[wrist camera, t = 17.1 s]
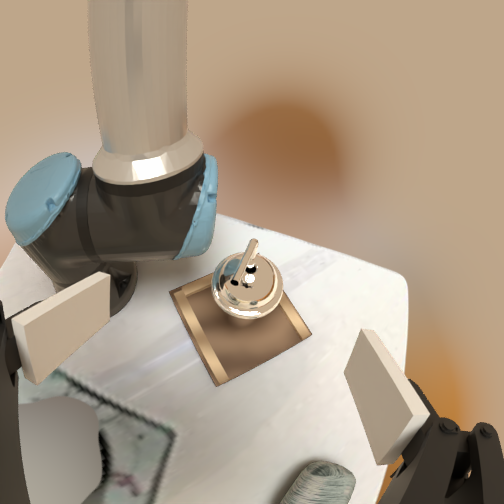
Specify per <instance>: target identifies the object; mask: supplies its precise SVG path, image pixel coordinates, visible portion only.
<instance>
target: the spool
mask: <svg viewBox="0 0 504 504" xmlns="http://www.w3.org/2000/svg"><path fill="white" fill-rule="evenodd" d="M355 484H356V479H355V477H354V475H353V474H352V472H350V471H349V470H348V469H346V468H344V467H343V466H340V465H337V464H334V463H330V462H324V461H320V462H314V463H311V464H309V465H308V466H307V467H306V468H305V469H304V470H303V471H302V472H301V473H300V475H299V476H298V478H297V479H296V480H295V482H294V483H293V485H292V486H291V487H290V489H289V490H288V492H287V493H286V495H285V496H284V498H283V499H282V501H281V502H280V504H348V502H349V500H350V498H351V495H352V493H353V490H354V487H355Z"/></svg>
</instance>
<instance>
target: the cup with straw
mask: <svg viewBox="0 0 504 504" xmlns="http://www.w3.org/2000/svg"><path fill="white" fill-rule="evenodd" d="M257 248H258V240H257V239H251V240H250V242H249V244H248V246H247V248H246V250H245V252H242V253H236V254H233V255H230V256H229V257H227V258H225V259H224V260H223V261H222V262H220V263H219V265H218V266H217V267H216V269H215V271H214V274H213V276H212V280H211V290H212V295H213V297H214V299H215V301H216V302H217V304H218V305H219V307H221V308H222V309H223V310H224V311H225V312H226V316H227V319H228V321H229V322H230V323H231V324H232V325H233V326H235V327H237V328H247V327H249V326H251V325H252V324H253V323H254V322H255V321H256V320H257V318H259V317H262V316H265V315H267V314H268V313H270V312H271V311H273V310H274V309H275V307H276V306H277V305H278V303H279V302H280V300H281V297H282V294H283V280H282V276H281V274H280V272H279V270H278V268H277V267H276V266H275V265H274V263H273V262H271V261H270V260H269V259H267V258H266V257H264V256H262V255H260V254H257V253H256V252H257Z"/></svg>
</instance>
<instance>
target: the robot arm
mask: <svg viewBox="0 0 504 504" xmlns="http://www.w3.org/2000/svg"><path fill="white" fill-rule="evenodd" d="M187 11H188V0H88V36H89V51H90V63H91V74H92V83H93V90H94V98H95V105H96V111H97V118H98V124H99V129H100V134H101V139H102V147H101V149H100V150H99V152H98V153H97V155H96V156H95V158H94V160H93V164H92V167H88V168H82V167H81V163H80V160H78V159H77V158H76V157H75V156H74V155H72V154H71V153H68V152H63V153H57V154H54V155H51V156H49V157H47V158H45V159H43V160H42V161H40V162H39V163H37V164H36V165H35V166H33V167H32V168H31V169H30V170H29V171H28V172H27V173H26V174H25V175H24V176H23V177H22V178H21V179H20V180H19V182H18V183H17V184H16V186H15V188H14V189H13V191H12V193H11V195H10V197H9V199H8V202H7V205H6V210H5V220H6V224H7V226H8V229H9V230H10V231H11V233H12V234H13V236H14V238H15V240H16V243H17V244H18V245H20V246H21V247H22V248H23V249H24V251H25V252H26V253H27V254H28V255H29V256H30V257H31V258H32V260H33V261H34V262H35V263H36V264H37V265H38V266H39V267H40V268H41V269H42V270H43V271H44V273H45V274H46V275H47V276H48V277H49V278H50V279H51V280H52V281H53V284H54V287H55V290H56V293H57V294H55V295H53V296H51V297H49V298H47V299H46V300H43V301H39V302H36V303H34V304H32V305H30V306H29V307H27V308H25V309H23V310H21V311H20V312H18V313H16V314H14V315H12V316H11V317H9V318H7V319H6V320H5V317H4V311H3V305H2V302H1V300H0V504H30V500H29V495H28V491H27V486H26V481H25V475H24V469H23V463H22V456H21V446H20V436H19V420H18V379H19V377H18V373H17V370H18V369H19V368H20V367H22V369H23V373H24V376H25V378H26V379H28V380H29V381H31V382H32V383H34V384H36V385H37V386H38V385H39V384H40V383H41V382H42V381H43V380H44V379H45V378H46V377H47V376H48V375H49V374H51V373H52V372H53V371H54V370H55V369H56V368H57V367H58V366H59V365H60V364H62V363H63V362H64V361H65V360H66V359H67V358H68V357H69V356H70V355H71V354H73V353H74V352H75V351H76V350H77V349H78V348H79V347H80V346H82V345H83V344H84V343H85V342H86V341H87V340H88V339H90V338H91V337H92V336H93V335H94V334H95V333H96V332H98V331H99V330H100V329H101V328H102V327H103V326H104V325H106V324H107V323H108V322H109V321H110V317H111V316H113V315H115V314H116V313H117V312H119V311H120V310H121V309H122V308H123V307H124V306H125V305H126V304H127V302H128V301H129V300H130V298H131V296H132V294H133V292H134V290H135V287H136V282H137V267H136V264H135V261H153V260H177V259H179V258H185V257H192V256H199V255H201V254H203V253H205V252H206V251H207V250H208V248H209V247H210V244H211V242H212V238H213V233H214V226H215V218H216V205H217V204H216V197H217V187H218V167H217V161H216V158H215V157H213V156H211V155H208V154H203V143H202V141H201V139H200V138H199V137H198V136H196V135H195V134H194V133H193V132H191V131H190V130H189V129H188V126H187V88H186V86H187V85H186V49H187V46H186V45H187ZM344 375H345V377H346V380H347V382H348V385H349V388H350V390H351V393H352V396H353V399H354V401H355V404H356V407H357V409H358V412H359V415H360V418H361V421H362V423H363V426H364V429H365V432H366V435H367V438H368V441H369V444H370V447H371V449H372V452H373V455H374V458H375V461H376V464H377V465H386V464H393V463H394V462H395V461H396V460H397V459H398V457H399V456H400V455H401V454H402V457H403V459H404V462H403V463H402V464H401V465H400V466H399V467H398V468H397V470H396V471H395V472H394V473H393V474H392V475H391V476H390V477H391V478H392V477H393V476H394V477H393V479H392V481H391V483H390V485H389V486H388V488H387V490H386V491H385V493H384V495H383V496H382V498H381V500H380V501H379V503H378V504H504V458H503V454H502V449H501V445H500V441H499V438H498V434H497V432H496V430H495V429H494V428H493V426H492V425H490V424H487V423H484V422H480V423H477V424H476V426H475V427H474V428H473V430H472V431H471V432H468V431H460V428H459V426H458V425H457V424H456V423H455V422H454V421H452V420H450V419H448V418H440V417H439V416H438V414H437V413H436V411H435V410H434V408H433V407H432V405H431V404H430V402H429V401H428V400H427V398H426V396H425V395H424V394H423V392H422V390H421V389H420V387H419V386H418V385H417V384H415V382H413V381H412V380H411V379H407V378H406V376H405V375H404V373H403V372H402V370H401V369H400V367H399V366H398V364H397V363H396V361H395V360H394V358H393V357H392V355H391V354H390V353H389V351H388V350H387V348H386V347H385V345H384V344H383V343H382V341H381V340H380V338H379V337H378V335H377V334H376V333H375V331H374V330H367V329H361V330H360V333H359V336H358V338H357V341H356V343H355V346H354V349H353V351H352V354H351V356H350V359H349V361H348V363H347V366H346V368H345V370H344ZM470 470H471V474H470V477H468V473H469V472H470Z"/></svg>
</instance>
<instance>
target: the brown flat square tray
mask: <svg viewBox="0 0 504 504" xmlns="http://www.w3.org/2000/svg"><path fill="white" fill-rule="evenodd" d="M257 254H259V253H257ZM213 274H214V272H213V273H211V274H209V275H206V276H204V277H202V278H199V279H197V280H195V281H193V282H190V283H188V284H186V285H183V286H181V287H179V288H176V289H174V290H172V291H169V293H170V295H171V297H172V300H173V302H174V304H175V306H176V308H177V311H178V313H179V315H180V317H181V319H182V321H183V323H184V325H185V327H186V329H187V331H188V334H189V336H190V338H191V340H192V342H193V344H194V346H195V348H196V349H197V351H198V353H199V355H200V357H201V359H202V361H203V363H204V365H205V367H206V369H207V370H208V372H209V374H210V376H211V378H212V380H213V381H214V383H215V385H216V387H217V386H219V385H221V384H223V383H226V382H228V381H230V380H232V379H234V378H236V377H238V376H240V375H241V374H243V373H245V372H247V371H249V370H251V369H253V368H255V367H257V366H259V365H261V364H262V363H264V362H266V361H268V360H270V359H272V358H273V357H275V356H277V355H279V354H280V353H282V352H284V351H286V350H288V349H289V348H291V347H293V346H294V345H296V344H298V343H300V342H301V341H303V340H305V339H306V338H308V337H310V336H311V335H312V333H311V332H310V330H309V329H308V327H307V325H306V324H305V322H304V321H303V319H302V318H301V316H300V315H299V313H298V312H297V310H296V309H295V307H294V306H293V304H292V303H291V301H290V300H289V298H288V297H287V295H286V293H285V292H284V290H283V294H282V297H281V300H280V302H279V303H278V305H277V306H276V307H275V309H274V310H273V311H271V312H270V313H268V314H267V315H265V316H262V317H259V318H257V320H256V321H255V322H254V323H253V324H252V325H251V326H249V327H247V328H237V327H235V326H233V325H232V324H231V323H230V322H229V321H228V319H227V316H226V312H225V311H224V310H223V309H222V308H221V307H219V305H218V304H217V302H216V301H215V299H214V297H213V295H212V290H211V280H212V276H213Z"/></svg>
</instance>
